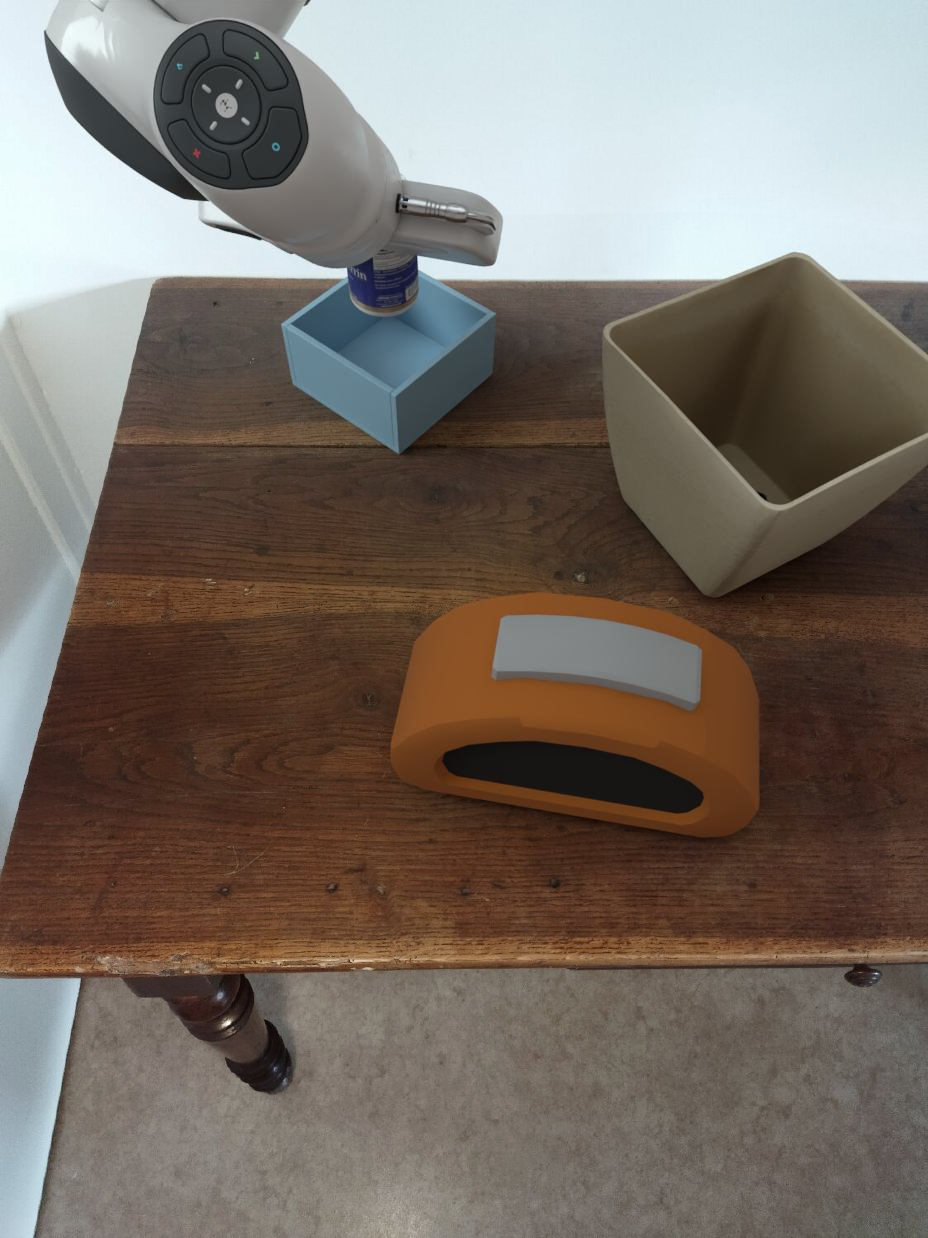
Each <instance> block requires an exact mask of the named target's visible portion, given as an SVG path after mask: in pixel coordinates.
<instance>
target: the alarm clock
mask: <svg viewBox="0 0 928 1238" xmlns="http://www.w3.org/2000/svg"><path fill="white" fill-rule="evenodd" d="M406 672H407V673H406V676H405V680H404V685H403V690H402V693H401V697H400V701H399V706H398V711H397V714H396V718H395V724H394V727H393V731H392V732H393V733H392V737H391V740H390V763H391V767H392V768H393V770H394V772H395V774H396V775H397V777H398V778H399V779H401V780H402V781H404V782H406V783H408V784H409V785H412V786H414V787H417V788H418V789H422V790H424V791H431V792H434V793H435V792H436V793H441V794H447V795H453V796H459V797H465V798H471V799H476V800H483V801H488V802H494V803H500V804H505V805H506V804H507V805H510V806H511V805H512V806H517V807H521V808H529V809H535V810H541V811H546V812H551V813H558V814H563V815H570V816H574V817H581V818H587V819H591V820H598V821H602V822H609V823H615V824H621V825H628V826H633V827H639V828H644V829H650V830H657V831H661V832H666V833H667V832H668V833H674V834H679V835H685V836H690V837H691V836H692V837H697V838H721V837H722V838H723V837H726V836H727V837H728V836H732V835H734V834H735V833H737V832H738V831H740V830H742V829H744V828H745V827H747V826H748V825H749V823H750V822H751V820H752V819H754V817H755V815H756V814H757V812H758V811H759V809H760V697H759V693H758V691H757V688H756V685H755V681H754V678H753V675H752V670H751V668H750V667H749V665H748V664H747V663H746V662H745V660H744V659H743V658H742V656H741V655H740V654H739V652H738V650H737V649H735V647H734V646H732V645H730V644H729V643H728V642H726V641H724V640H723V639H721V638H720V637H718V636H717V635H715V634H713V633H712V632H711V631H709V630H707V629H706V628H703V627H701V626H699V625H697V624H695V623H693V622H691V621H688V620H687V619H684V618H682V617H680V616H678V615H676V614H673V613H671V612H669V611H665V610H661V609H655V608H651V607H646V606H642V605H638V604H637V605H636V604H633V603H628V602H623V601H619V600H615V599H609V598H606V597H605V598H604V597H595V596H584V595H583V596H582V595H574V594H573V595H572V594H565V593H563V594H562V593H552V592H542V591H541V592H540V591H535V592H527V593H519V594H509V595H501V596H494V597H489V598H484V599H481V600H476V601H472V602H468V603H463V604H460V605H459V606H457V607H455V608H453V609H451V610H449V611H448V612H446V613H444V614H442V615H441V616H439V617H438V618H436V619H435V620H434V621H432V623H431V624H430V625H429V626H427V628H426V629H425V630H424V631H423V632H422V633H421V634H420V635H418V637H417V638H416V639H415V641H414V642H413V645H412V650H411V655H410V658H409V663H408V667H407V671H406Z"/></svg>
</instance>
